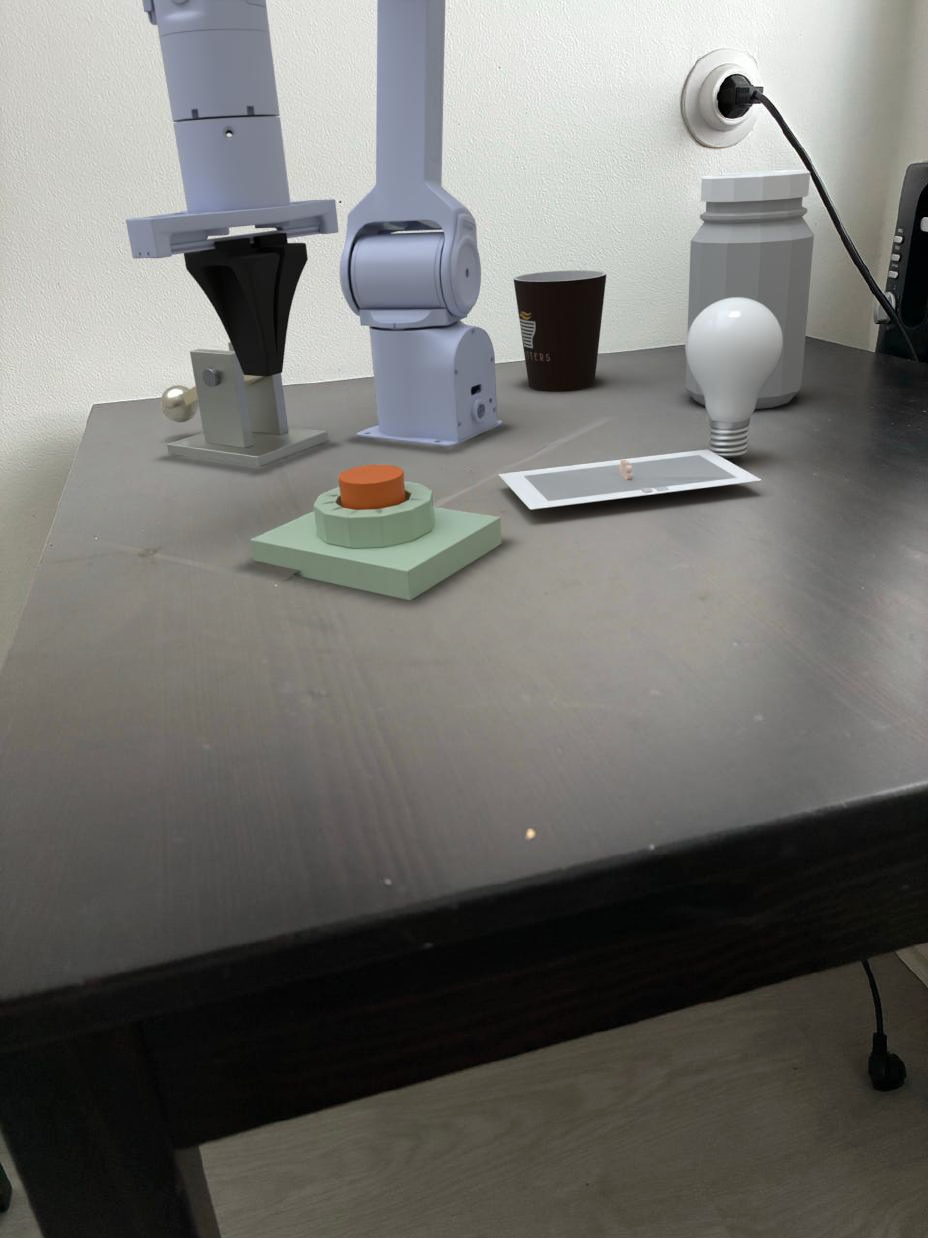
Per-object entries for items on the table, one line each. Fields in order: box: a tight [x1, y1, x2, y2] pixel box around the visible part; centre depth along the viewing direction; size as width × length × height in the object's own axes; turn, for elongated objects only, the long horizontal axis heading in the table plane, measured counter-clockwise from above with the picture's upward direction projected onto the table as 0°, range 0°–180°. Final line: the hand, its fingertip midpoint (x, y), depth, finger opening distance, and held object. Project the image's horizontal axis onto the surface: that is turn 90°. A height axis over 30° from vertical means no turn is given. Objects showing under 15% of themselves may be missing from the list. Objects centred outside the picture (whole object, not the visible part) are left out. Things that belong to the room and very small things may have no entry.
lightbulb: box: [684, 297, 783, 462], centre depth 68 cm, size 6×6×11 cm
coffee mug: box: [513, 269, 607, 392], centre depth 96 cm, size 12×9×10 cm
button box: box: [250, 480, 502, 601], centre depth 56 cm, size 11×9×4 cm
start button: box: [338, 464, 406, 510], centre depth 55 cm, size 4×4×2 cm
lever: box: [160, 374, 263, 423], centre depth 80 cm, size 11×3×3 cm, turn 57°
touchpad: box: [498, 448, 763, 510], centre depth 64 cm, size 8×15×2 cm, turn 102°
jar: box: [685, 169, 815, 410], centre depth 83 cm, size 10×10×18 cm
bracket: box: [166, 341, 330, 468], centre depth 78 cm, size 10×8×8 cm
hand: (263, 373), depth 60 cm, fingers closed
